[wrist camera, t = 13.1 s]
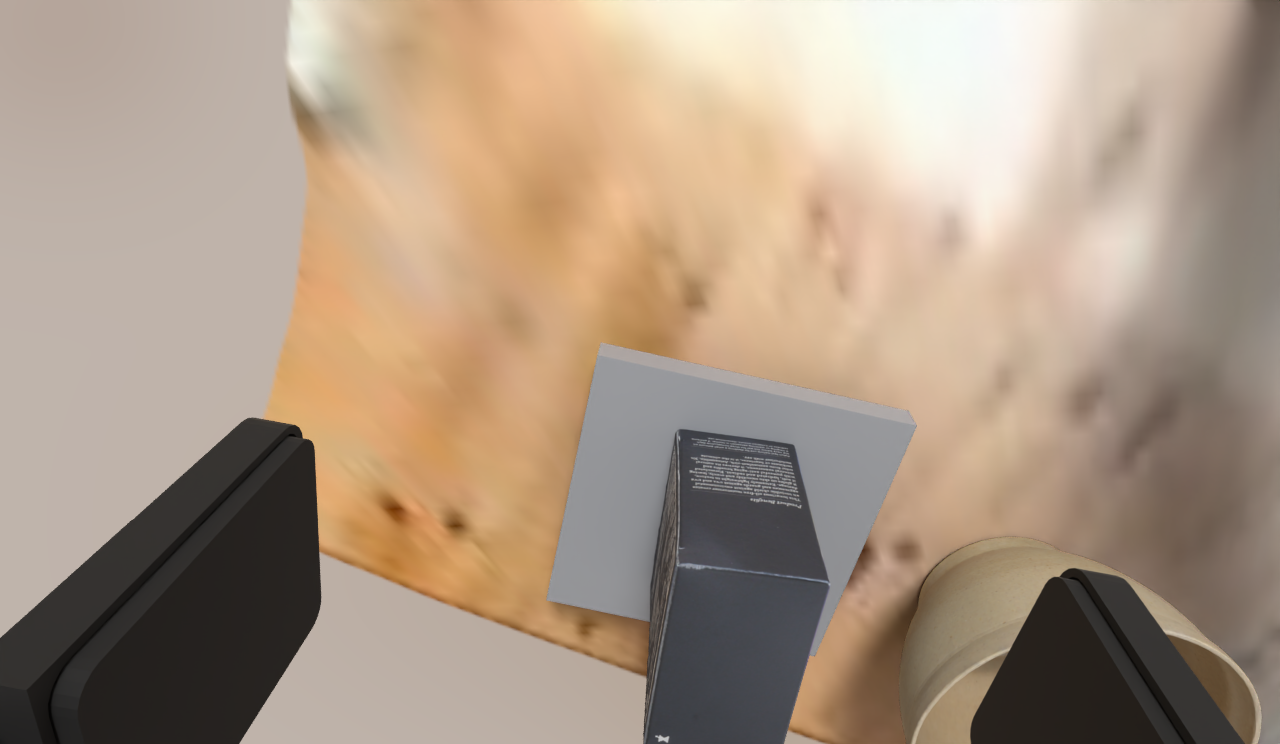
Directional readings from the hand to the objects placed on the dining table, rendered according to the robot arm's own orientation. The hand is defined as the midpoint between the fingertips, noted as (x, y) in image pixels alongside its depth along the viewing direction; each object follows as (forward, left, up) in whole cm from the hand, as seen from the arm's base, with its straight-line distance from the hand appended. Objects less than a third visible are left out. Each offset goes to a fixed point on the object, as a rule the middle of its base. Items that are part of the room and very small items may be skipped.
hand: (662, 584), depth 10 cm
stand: (-6, +17, -29) cm, 34 cm away
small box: (-6, +17, -25) cm, 31 cm away
